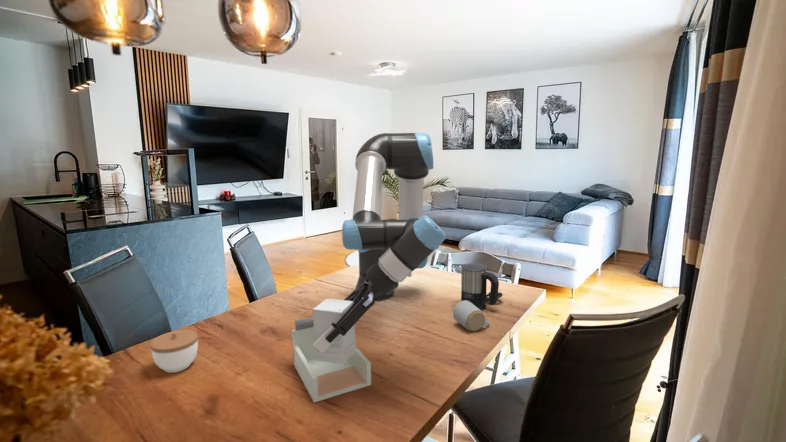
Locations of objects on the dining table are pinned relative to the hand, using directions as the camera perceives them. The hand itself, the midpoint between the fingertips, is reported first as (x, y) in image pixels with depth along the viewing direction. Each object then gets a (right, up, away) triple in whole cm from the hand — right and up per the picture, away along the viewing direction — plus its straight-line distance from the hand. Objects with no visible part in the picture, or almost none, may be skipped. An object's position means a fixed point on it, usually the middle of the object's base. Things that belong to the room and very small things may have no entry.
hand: (321, 338), depth 92 cm
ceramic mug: (+42, -6, +33) cm, 54 cm away
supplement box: (+3, -4, +1) cm, 6 cm away
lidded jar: (-40, -11, +11) cm, 43 cm away
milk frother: (+49, -3, +52) cm, 72 cm away
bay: (+1, -11, +6) cm, 13 cm away
